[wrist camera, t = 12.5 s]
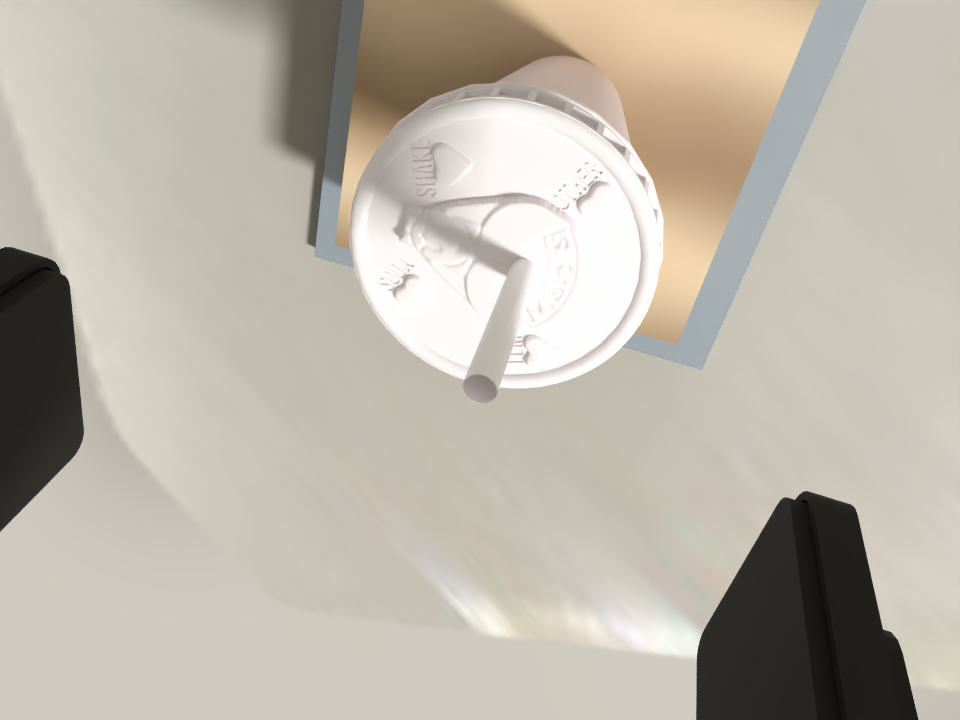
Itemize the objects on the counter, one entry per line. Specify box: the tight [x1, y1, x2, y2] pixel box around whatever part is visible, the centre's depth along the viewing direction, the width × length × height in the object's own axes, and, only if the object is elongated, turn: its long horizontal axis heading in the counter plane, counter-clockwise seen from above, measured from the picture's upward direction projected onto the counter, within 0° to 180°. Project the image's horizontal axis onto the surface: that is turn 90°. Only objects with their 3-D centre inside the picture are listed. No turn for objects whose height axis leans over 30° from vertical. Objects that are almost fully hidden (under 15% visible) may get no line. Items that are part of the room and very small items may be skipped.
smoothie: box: [349, 55, 664, 404], centre depth 19 cm, size 6×6×14 cm
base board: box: [314, 0, 866, 370], centre depth 28 cm, size 18×16×1 cm
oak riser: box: [335, 0, 820, 345], centre depth 26 cm, size 12×12×4 cm
